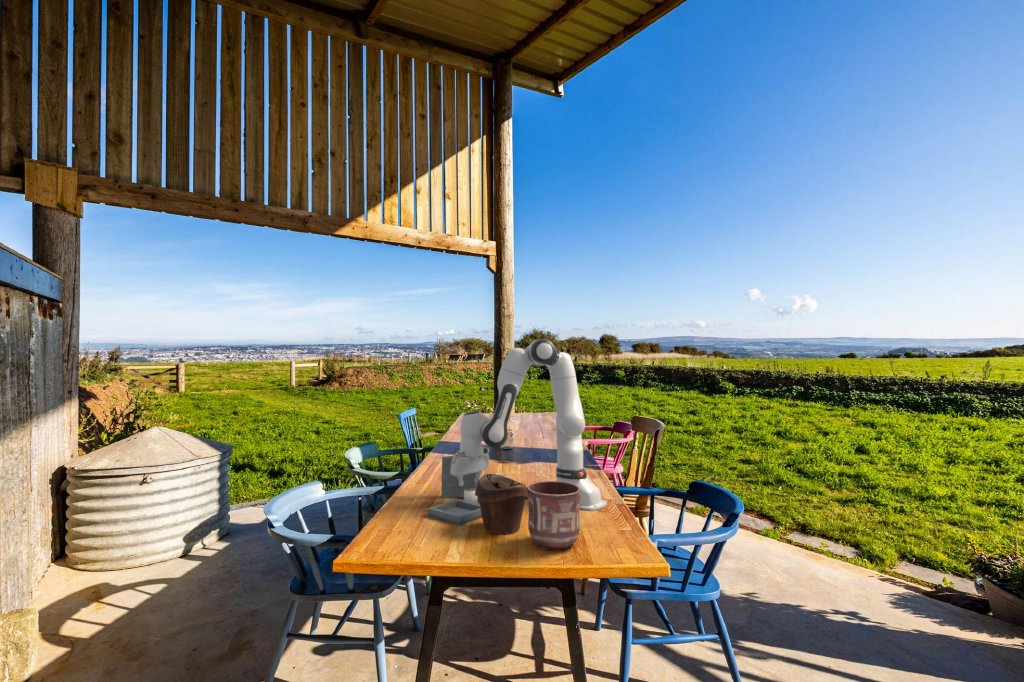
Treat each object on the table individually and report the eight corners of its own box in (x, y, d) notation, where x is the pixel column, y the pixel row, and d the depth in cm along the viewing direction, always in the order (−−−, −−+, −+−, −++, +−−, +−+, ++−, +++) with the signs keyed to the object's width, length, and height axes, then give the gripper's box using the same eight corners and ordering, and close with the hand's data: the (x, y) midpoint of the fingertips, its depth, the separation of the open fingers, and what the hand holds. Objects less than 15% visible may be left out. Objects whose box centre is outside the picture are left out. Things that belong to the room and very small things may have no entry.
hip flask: (441, 498, 207) (441, 451, 208) (441, 495, 211) (442, 450, 212) (477, 497, 208) (478, 451, 209) (477, 495, 212) (478, 449, 213)
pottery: (514, 543, 153) (515, 487, 154) (548, 530, 166) (549, 478, 167) (558, 559, 141) (559, 498, 142) (591, 543, 154) (591, 487, 155)
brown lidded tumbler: (526, 539, 157) (526, 484, 158) (468, 535, 161) (468, 481, 162) (534, 523, 174) (534, 473, 176) (481, 520, 178) (482, 471, 180)
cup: (480, 504, 198) (480, 489, 198) (471, 507, 193) (471, 491, 194) (470, 501, 201) (470, 487, 202) (461, 504, 197) (461, 489, 197)
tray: (488, 514, 183) (488, 506, 184) (460, 525, 171) (460, 517, 171) (457, 506, 194) (457, 499, 194) (427, 516, 181) (427, 508, 181)
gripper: (458, 454, 189) (457, 489, 188) (491, 448, 205) (490, 481, 204) (447, 452, 192) (446, 487, 192) (480, 446, 209) (479, 478, 208)
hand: (469, 483), depth 198 cm, fingers open, 8 cm apart
